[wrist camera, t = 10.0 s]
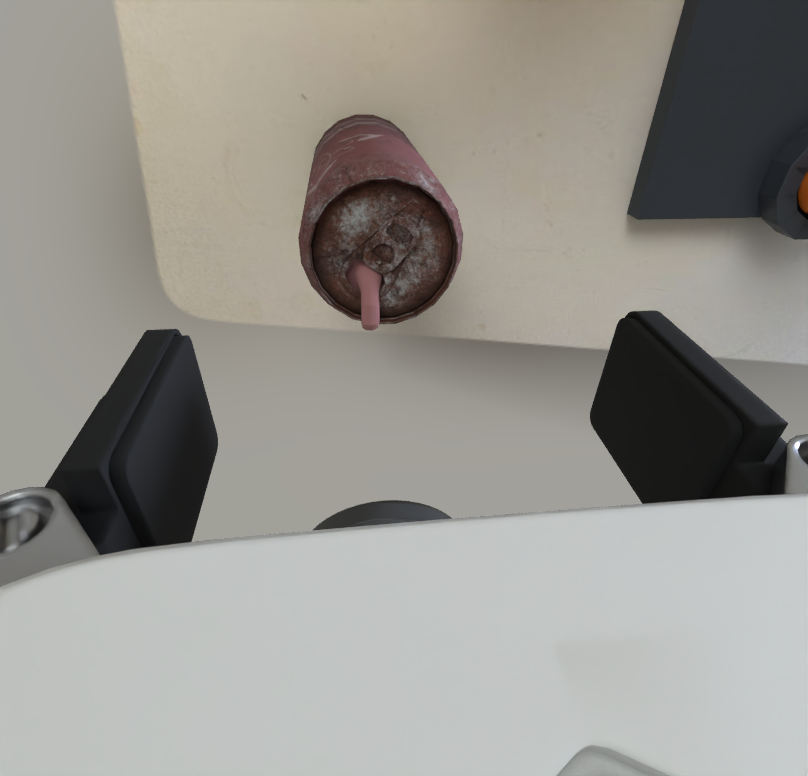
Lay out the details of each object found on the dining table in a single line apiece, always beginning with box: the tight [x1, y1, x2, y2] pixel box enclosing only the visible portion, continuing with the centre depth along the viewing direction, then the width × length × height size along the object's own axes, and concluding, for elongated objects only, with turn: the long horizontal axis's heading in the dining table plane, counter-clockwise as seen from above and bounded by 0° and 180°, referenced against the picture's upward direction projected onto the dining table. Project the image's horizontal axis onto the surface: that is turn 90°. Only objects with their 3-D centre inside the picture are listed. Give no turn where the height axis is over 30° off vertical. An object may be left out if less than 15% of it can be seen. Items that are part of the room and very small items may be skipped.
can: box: [298, 115, 463, 330], centre depth 23 cm, size 6×6×14 cm
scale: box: [627, 0, 808, 239], centre depth 28 cm, size 14×14×3 cm
